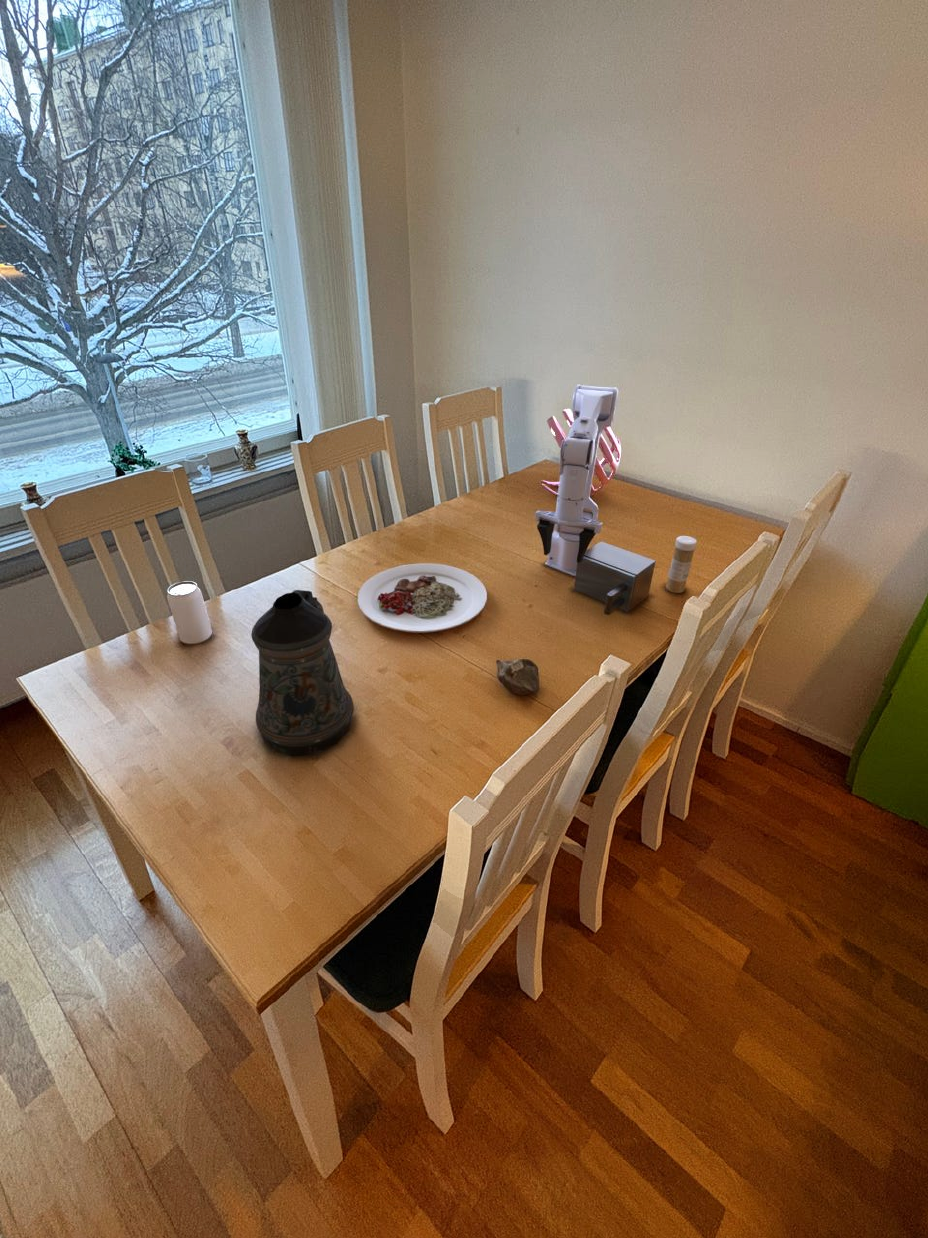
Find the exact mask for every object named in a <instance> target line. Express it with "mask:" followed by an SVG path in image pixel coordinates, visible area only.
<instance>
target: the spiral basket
mask: <svg viewBox="0 0 928 1238" xmlns="http://www.w3.org/2000/svg"><path fill="white" fill-rule="evenodd" d="M561 413H562V415H563V417H564V419H565V420H566V422H567V424H568V426H569V428H571V425H572V423H573V421H574V419H573V411H572V409H570V408H567V409H563V410H562V411H561ZM546 423H547V425H548V427H549V430H550V431H551V433H552V435H553V437H554V439H555V441H556V443H557V445H558V447H559V449H560V448H561V444H562V441H563V440H567V436H566V434H565V432H564V430H563V429H562V427H561V426H560V423H559V422H558V421H557V419H556V417H555V416H554V415H552V416H550V417H549V418H547V420H546ZM603 431H604V434H605V435H606V437H607V439H608V441H609V442H610V445H611V446H610V447H609V444H608V443H607V441H606V439H605V437H604V436H603V433H602V434H601V436H600V439H599V444H598V449H599V450H600V452H601V453H602V458H601V459H600V460H599V459H598V457H597V456H596V462H595V468H594V473H593V476H594V475H595V476H596V477H597V479H598V480H599V482H600V484H601V485H599V486H598V487H597V488H594V486H593V484H592V485H591V491H590V497H591V496H594V495H595V494H597V493H599V492H600V491H601V490H603V489H604V488H605V487H607V486H608V484H609V483H610V482H611V480H612V479H613V478H614V476H615V474H616V473H617V471H618V469H619V465H620V460H621V454H622V446H621V441H620V439H619V438H618V436H617V435H615V434H614V432H613V430H612V428H611V426H610V427H607V428H605V429H603ZM614 452H615V453H616V454H617V456H616V458H615V456H614ZM606 464H608V466H609V468H610V469H611V473H610V475H608V476H607V474H606V472H605V471H604V466H605V465H606ZM540 482H541V483H542V484H541V485H542V488H543V489H545V491H547V492H548V493H550V494H552V495H554V496H556V497H557V496H558V492H556V491H554V490H552V489H551V488H550V487H559V481H546V480H540ZM548 486H549V487H548Z"/></svg>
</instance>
